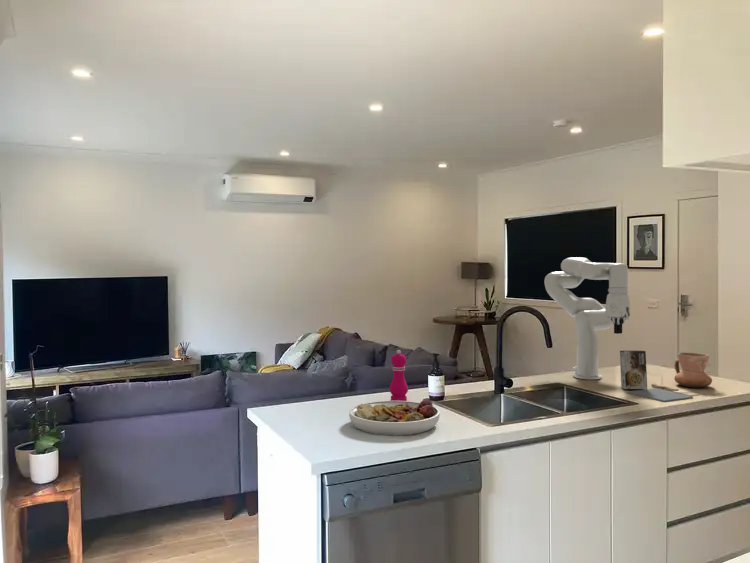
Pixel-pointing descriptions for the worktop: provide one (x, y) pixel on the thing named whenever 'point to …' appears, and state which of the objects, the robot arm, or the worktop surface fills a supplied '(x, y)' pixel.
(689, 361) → the ceramic jug
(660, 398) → the mat
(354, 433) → the worktop surface
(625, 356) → the coffee box
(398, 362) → the pepper mill
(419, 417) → the bowl
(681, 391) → the turner
